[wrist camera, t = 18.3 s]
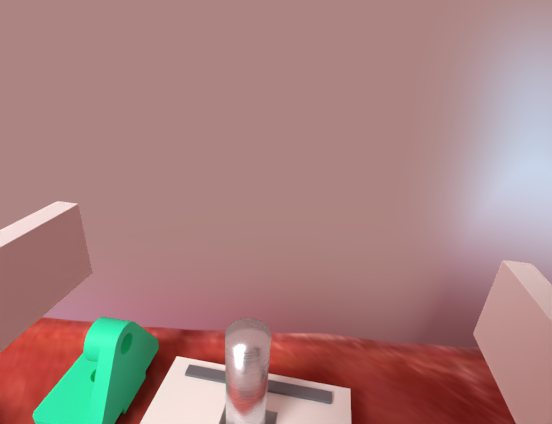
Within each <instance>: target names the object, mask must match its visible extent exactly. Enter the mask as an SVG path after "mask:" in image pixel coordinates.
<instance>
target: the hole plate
mask: <svg viewBox="0 0 552 424" xmlns="http://www.w3.org/2000/svg"><path fill="white" fill-rule="evenodd" d="M140 424H226V380H225V365H221V364H216V363H211V362H206V361H200V360H195V359H190V358H184V357H179V356H177V357H176V359H175V361H174V362H173V364H172V366H171V368H170V370H169V371H168V373H167V375H166V377H165V379H164V381H163V382H162V384H161V386H160V388H159V390H158V391H157V393H156V395H155V397H154V399H153V401H152V402H151V404H150V406H149V408H148V410H147V412H146V413H145V415H144V417H143V419H142V421H141V422H140ZM265 424H351V394H350V389H349V388H343V387H338V386H333V385H327V384H322V383H317V382H311V381H306V380H301V379H296V378H290V377H285V376H280V375H274V374H269V373H268V387H267V401H266V416H265Z"/></svg>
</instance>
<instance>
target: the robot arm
mask: <svg viewBox="0 0 552 424" xmlns="http://www.w3.org/2000/svg"><path fill="white" fill-rule="evenodd" d="M91 274H92V269H91V264H90V260H89V254H88V250H87V245H86V240H85V235H84V230H83V225H82V220H81V216H80V211H79V206H78V204H75V203H67V202H60V201H57V202H55V203H53V204H51V205H49V206H47V207H45V208H43V209H41V210H39V211H37V212H35V213H33V214H31V215H29V216H27V217H25V218H23V219H21V220H19V221H17V222H15V223H13V224H11V225H9V226H7V227H5V228H3V229H1V230H0V353H1V352H2V351H3V350H4V349H5V348H6V347H8V346H9V345H10V344H11V343H12V342H13V341H14V340H16V339H17V338H18V337H19V336H20V335H21V334H23V333H24V332H25V331H26V330H27V329H28V328H29V327H31V326H32V325H33V324H34V323H35V322H36V321H37V320H39V319H40V318H41V317H42V316H43V315H44V314H46V313H47V312H48V311H49V310H50V309H51V308H52V307H54V306H55V305H56V304H57V303H58V302H59V301H60V300H62V299H63V298H64V297H65V296H66V295H67V294H69V293H70V292H71V291H72V290H73V289H74V288H76V287H77V286H78V285H79V284H80V283H81V282H82V281H84V280H85V279H86V278H87V277H88V276H89V275H91ZM473 335H474V337H475V339H476V341H477V343H478V346H479V348H480V350H481V352H482V354H483V356H484V358H485V360H486V362H487V364H488V366H489V369H490V371H491V373H492V375H493V377H494V379H495V381H496V383H497V385H498V387H499V389H500V392H501V394H502V396H503V398H504V400H505V402H506V404H507V406H508V408H509V410H510V412H511V415H512V417H513V419H514V421H515V423H516V424H552V285H551V284H550V283H549V282H548V280H546V278H545V277H544V276H543V275H542V274H541V273H540V272H539V271H538V270H537V269H536V268H535V266H534V265H533V264H529V263H522V262H514V261H507V260H502V263H501V265H500V267H499V270H498V272H497V275H496V278H495V280H494V283H493V285H492V288H491V290H490V293H489V295H488V298H487V300H486V303H485V305H484V308H483V310H482V313H481V315H480V318H479V320H478V323H477V325H476V328H475V330H474V333H473Z"/></svg>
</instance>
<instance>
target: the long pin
mask: <svg viewBox="0 0 552 424" xmlns="http://www.w3.org/2000/svg"><path fill="white" fill-rule="evenodd" d="M270 343H271V331H270V329H269V327H268V326H267V325H266V324H265V323H264V322H262V321H260V320H258V319H254V318H243V319H239V320H236V321H235V322H233V323H231V324H230V325H229V327H228V328H227V330H226V333H225V380H226V424H265V416H266V401H267V387H268V372H269V358H270Z"/></svg>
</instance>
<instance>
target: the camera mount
mask: <svg viewBox="0 0 552 424" xmlns="http://www.w3.org/2000/svg"><path fill="white" fill-rule="evenodd" d="M158 349H159V344H158V339H157V338H155V337H154V336H153V335H151V334H150V333H148V332H147V331H146V330H144V329H143V328H142V327H140V326H139V325H138V324H136V323H135V322H132V321H125V320H119V319H113V318H107V317H101V318H99V319H98V320H96V321H95V322H94V324H93V325H92V326H91V328H90V329H89V331H88V333H87V336H86V339H85V343H84V352H83V354H82V355H81V356H80V357H79V358H78V360H77V361H76V362H75V363H74V364H73V366H72V367H71V368H70V369H69V370H68V372H67V373H66V374H65V375H64V376H63V377H62V379H61V380H60V381H59V382H58V383H57V385H56V386H55V387H54V388H53V389H52V391H51V392H50V393H49V394H48V395H47V397H46V398H45V399H44V400H43V401H42V403H41V404H40V405H39V406H38V407H37V409H36V410H35V411H34V413H33V419H34V421H35V424H115V422H116V420H117V419H118V417H119V415H120V414H121V413H122V414H125V412H126V411H127V409H128V407H129V406H130V404H131V402H132V400H133V399H134V397H135V395H136V393H137V392H138V390H139V388H140V387H141V385H142V383H143V381H144V380H145V378H146V374H145V371H146V370H147V368H148V366H149V365H150V363H151V361H152V359H153V358H154V356H155V354H156V353H157V351H158Z"/></svg>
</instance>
